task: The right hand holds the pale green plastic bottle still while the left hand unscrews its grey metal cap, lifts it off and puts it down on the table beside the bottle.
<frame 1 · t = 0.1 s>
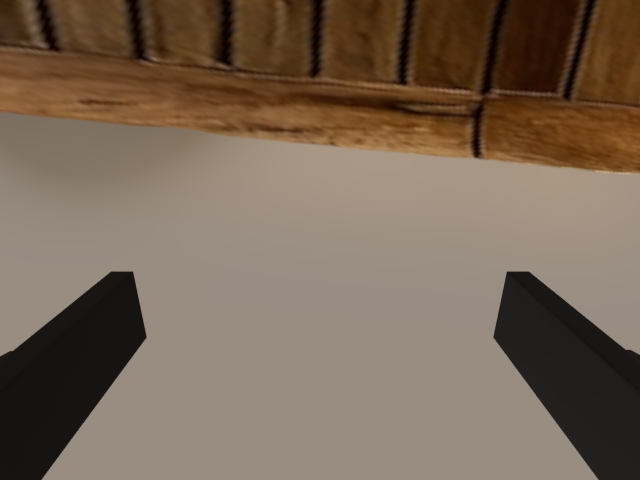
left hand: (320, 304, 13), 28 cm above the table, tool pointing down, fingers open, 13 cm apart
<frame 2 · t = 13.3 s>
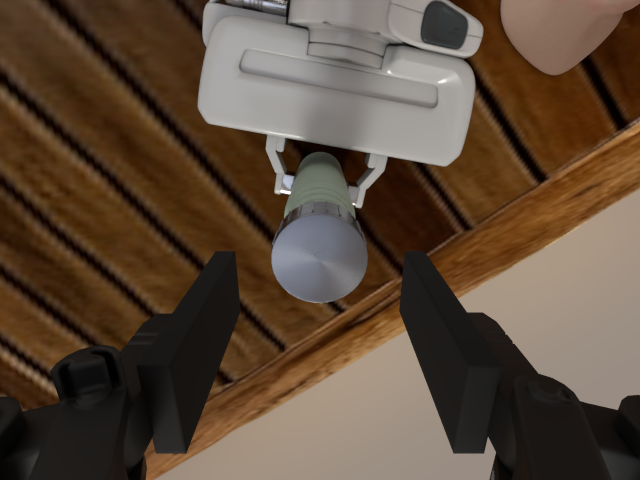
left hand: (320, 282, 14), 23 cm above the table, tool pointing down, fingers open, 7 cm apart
right hand: (318, 199, 30), fingers closed on bottle, 4 cm apart
bottle: (320, 174, 36), on the table, touching right hand
cap: (319, 258, 17), point 21 cm above the table, screwed on, not yet turned
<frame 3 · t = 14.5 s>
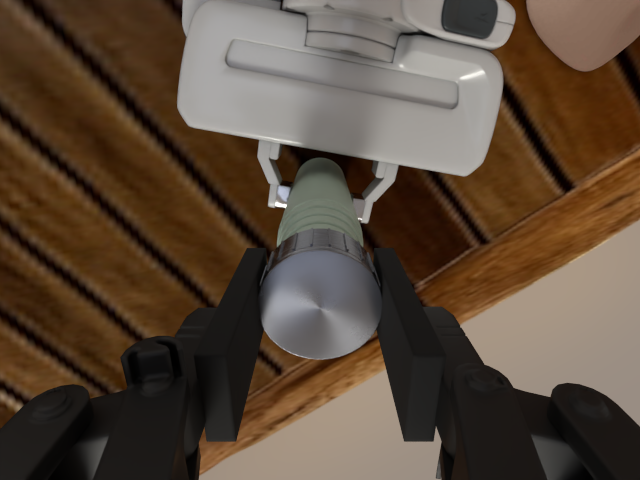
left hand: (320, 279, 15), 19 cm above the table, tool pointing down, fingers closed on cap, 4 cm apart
right hand: (318, 213, 27), fingers closed on bottle, 4 cm apart
bottle: (320, 182, 32), on the table, touching right hand
cap: (319, 303, 13), point 21 cm above the table, screwed on, not yet turned, touching left hand
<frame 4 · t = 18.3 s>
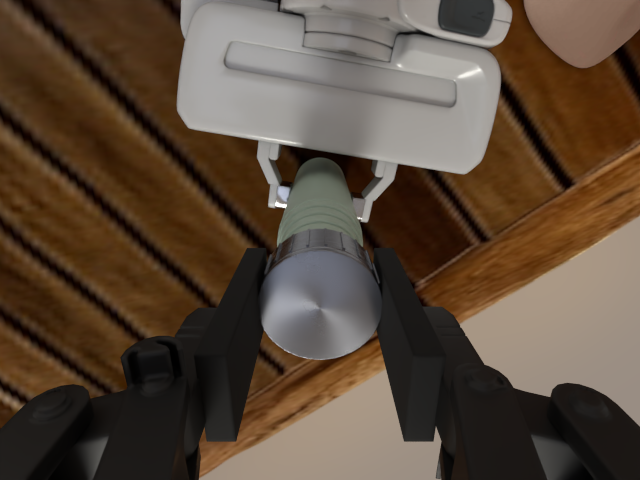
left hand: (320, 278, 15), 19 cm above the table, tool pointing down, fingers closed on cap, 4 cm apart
right hand: (318, 213, 27), fingers closed on bottle, 4 cm apart
bottle: (320, 182, 33), on the table, touching right hand
cap: (320, 304, 13), point 21 cm above the table, turned 134° so far, risen 0.1 cm, still on its thread, touching left hand
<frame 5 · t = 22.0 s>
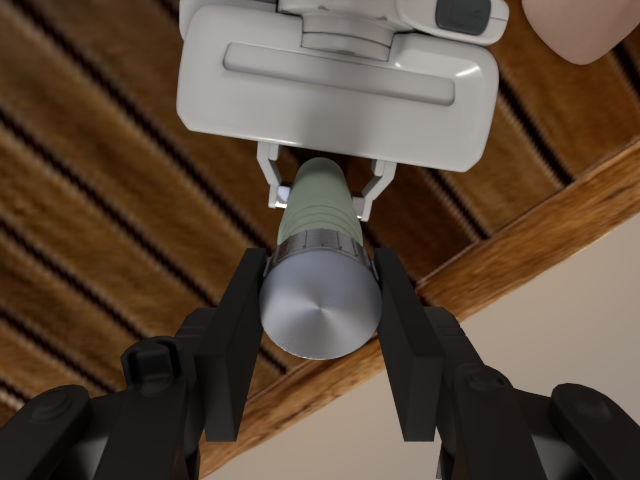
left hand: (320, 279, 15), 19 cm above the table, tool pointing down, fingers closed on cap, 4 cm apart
right hand: (318, 212, 27), fingers closed on bottle, 4 cm apart
bottle: (320, 182, 33), on the table, touching right hand
cap: (320, 304, 13), point 21 cm above the table, turned 267° so far, risen 0.2 cm, still on its thread, touching left hand
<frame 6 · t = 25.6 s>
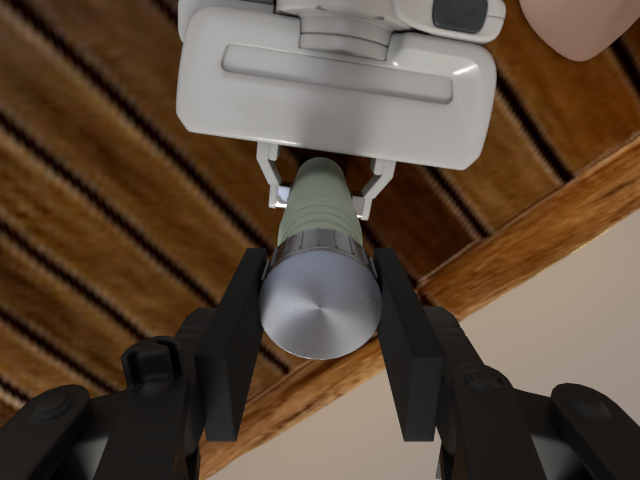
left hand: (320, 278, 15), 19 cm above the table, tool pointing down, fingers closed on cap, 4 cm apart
right hand: (318, 212, 27), fingers closed on bottle, 4 cm apart
bottle: (320, 181, 33), on the table, touching right hand
cap: (320, 304, 13), point 21 cm above the table, turned 401° so far, risen 0.4 cm, still on its thread, touching left hand
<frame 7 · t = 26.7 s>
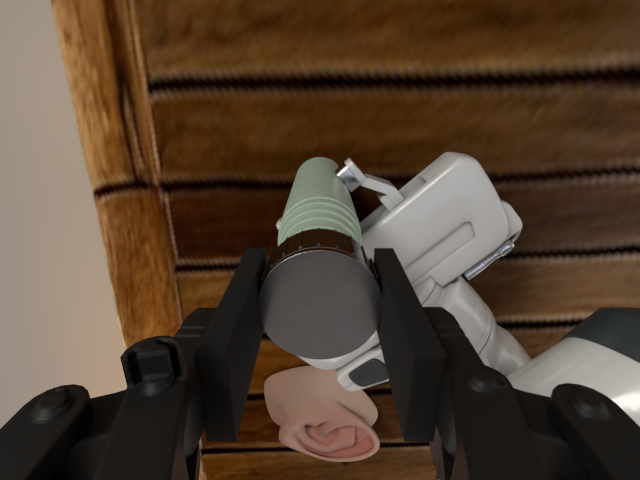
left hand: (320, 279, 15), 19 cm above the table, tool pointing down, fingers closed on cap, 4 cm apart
right hand: (311, 191, 26), fingers closed on bottle, 4 cm apart
bottle: (319, 181, 33), on the table, touching right hand
cap: (320, 304, 13), point 21 cm above the table, off its thread, touching left hand
anatomical model: (318, 403, 42), on the table
when the left hand's fingers open (2 cm above the table, at t = 32.7 s): cap drops 2 cm, point 2 cm above the table.
when the right hand's fingers open (7 cm above the table, at t = 33.9 s): bottle stays where it is, on the table.
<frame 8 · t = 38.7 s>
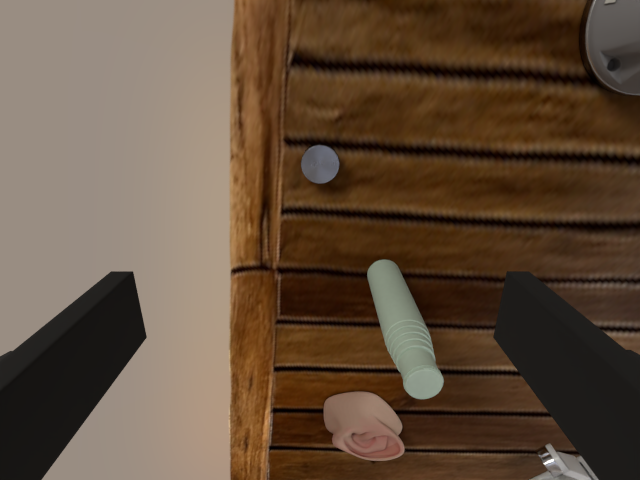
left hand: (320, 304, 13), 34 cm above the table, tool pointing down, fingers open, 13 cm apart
bottle: (383, 274, 50), on the table
cap: (320, 164, 42), point 2 cm above the table, off its thread
anatomical model: (360, 418, 59), on the table
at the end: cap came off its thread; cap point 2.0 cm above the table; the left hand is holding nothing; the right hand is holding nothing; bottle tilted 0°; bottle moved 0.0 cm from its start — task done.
